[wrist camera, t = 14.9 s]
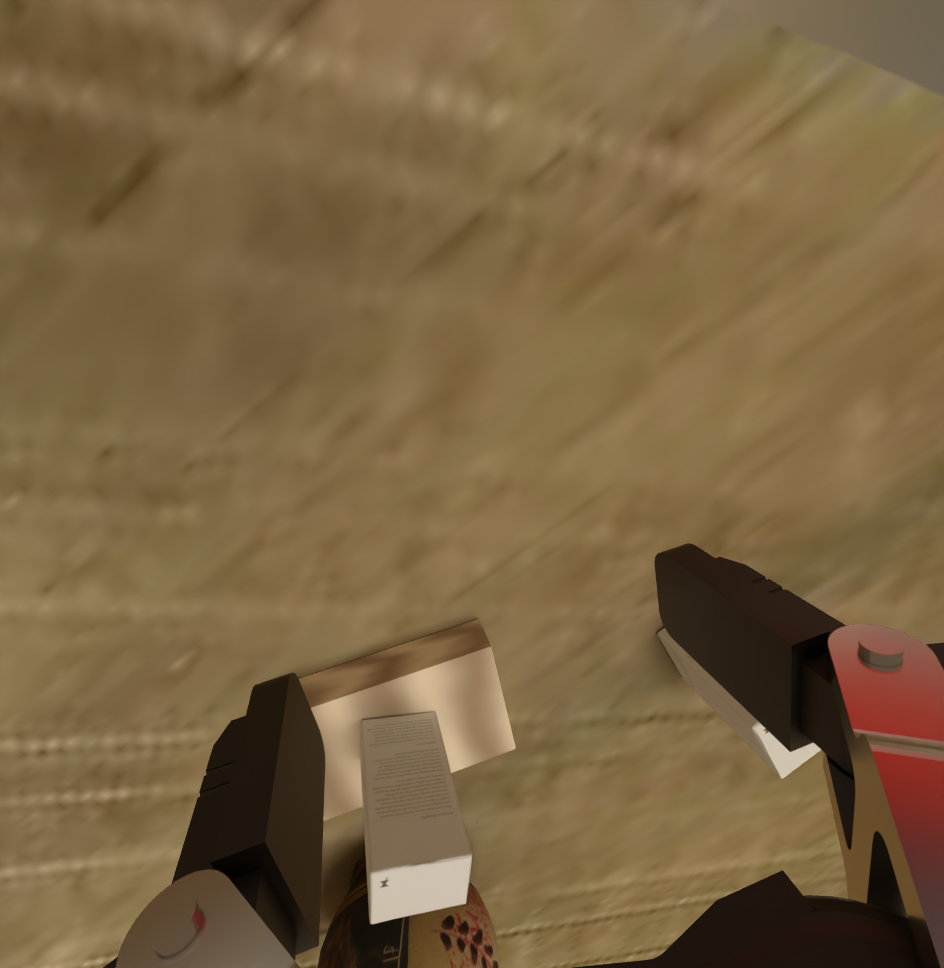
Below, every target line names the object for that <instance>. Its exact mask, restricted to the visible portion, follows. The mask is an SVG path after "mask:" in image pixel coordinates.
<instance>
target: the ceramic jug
mask: <svg viewBox="0 0 944 968" xmlns="http://www.w3.org/2000/svg"><path fill="white" fill-rule="evenodd" d="M478 824H479V823H478ZM318 968H501V967H500V957H499V951H498V945H497V940H496V935H495V931H494V927H493V924H492V921H491V918H490V916H489V913H488V911H487V909H486V907H485V905H484V903H483V900H482V898H481V897H480V895H479V893H478V892H477V890H476V888H475V887H474V886H473V885H472V884H471V883H470V882H469V885H468V893H467V901H466V904H462V905H457V906H452V907H448V908H443V909H439V910H434V911H429V912H425V913H420V914H415V915H410V916H406V917H401V918H396V919H392V920H388V921H384V922H380V923H376V924H370V920H369V905H368V887H367V870H366V857H364V858H363V859H361V860H360V861H359V862H358V863H357V864H356V868H355V870H354V872H353V876H352V880H351V888H350V890H349V892H348V893H347V895H346V897H345V899H344V901H343V902H342V904H341V906H340V907H339V909H338V911H337V912H336V914H335V916H334V918H333V920H332V923H331V925H330V927H329V929H328V932H327V935H326V938H325V940H324V943H323V946H322V949H321V951H320V957H319V963H318Z"/></svg>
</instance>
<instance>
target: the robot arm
mask: <svg viewBox="0 0 944 968" xmlns="http://www.w3.org/2000/svg"><path fill="white" fill-rule="evenodd" d="M655 572H656V582H657V593H658V603H659V612H660V617H661V620H662V622H663V625H664V627H665V629H666V631H667V632H668V634H669V635H670V636H671V638H672V639H673V640H674V641H675V642H676V643H677V644H678V645H679V646H680V647H681V648H682V649H683V650H685V651H686V652H687V653H688V654H689V655H690V656H691V657H692V658H693V659H694V660H695V661H696V662H697V663H698V664H699V665H700V666H701V667H702V668H703V669H704V670H705V671H706V672H707V673H708V674H709V675H710V676H712V677H713V678H714V679H715V680H716V681H717V682H718V683H719V684H720V685H721V686H722V687H723V688H724V689H725V690H726V691H727V692H728V693H729V694H730V695H731V696H732V697H733V698H734V699H735V700H736V701H738V702H739V703H740V704H741V705H742V706H743V707H744V708H745V709H746V710H747V711H748V712H749V713H750V714H751V715H752V716H753V717H754V718H755V719H756V720H757V721H758V722H759V723H760V724H761V725H762V726H763V727H765V728H766V729H767V730H768V731H769V732H770V733H771V734H772V735H773V736H774V737H775V738H776V739H777V740H778V741H779V742H780V743H781V744H782V745H783V746H784V747H785V748H786V749H787V750H788V751H789V752H792V751H795V750H797V749H799V748H802V747H804V746H807V745H809V744H811V743H814V744H816V745H817V746H818V747H819V748H820V749H821V750H822V751H823V768H824V772H825V777H826V782H827V786H828V791H829V796H830V800H831V805H832V809H833V814H834V819H835V823H836V828H837V833H838V837H839V842H840V846H841V851H842V856H843V860H844V866H845V872H846V879H847V891H848V899H845V898H839V897H833V896H812V895H806V896H803V895H802V894H801V893H800V891H799V890H798V889H797V888H796V886H795V885H794V884H793V883H792V881H791V880H790V879H789V878H788V876H787V875H786V874H785V873H784V871H783V870H782V871H780V872H778V873H776V874H774V875H771V876H769V877H767V878H765V879H763V880H760V881H758V882H756V883H754V884H752V885H750V886H747V887H745V888H743V889H741V890H739V891H736V892H734V893H732V894H730V895H728V896H725V897H723V898H721V899H719V900H717V901H716V902H715V903H714V904H713V905H712V906H710V907H709V908H708V909H707V910H706V911H705V912H704V913H703V914H702V915H701V916H700V917H699V918H698V919H697V920H696V921H695V922H694V923H693V924H692V925H691V926H690V927H689V928H688V929H687V930H686V931H685V932H684V933H683V934H682V935H681V936H680V937H679V938H678V939H677V940H676V941H675V942H674V943H673V944H672V945H671V946H670V947H669V948H668V949H667V950H666V951H665V952H664V953H663V954H661V955H660V956H658V957H656V958H654V959H650V960H642V961H632V962H623V963H613V964H603V965H593V966H583V967H574V968H944V643H935V644H924V643H923V642H922V641H920V640H919V639H917V638H915V637H913V636H911V635H909V634H907V633H905V632H902V631H899V630H897V629H893V628H889V627H885V626H880V625H872V624H853V625H848V626H846V625H844V624H843V623H841V622H839V621H838V620H836V619H834V618H833V617H831V616H829V615H828V614H826V613H824V612H823V611H821V610H819V609H818V608H816V607H815V606H813V605H811V604H810V603H808V602H806V601H805V600H803V599H801V598H800V597H798V596H796V595H795V594H793V593H791V592H790V591H788V590H786V589H785V590H783V589H782V587H781V586H780V585H778V584H776V583H775V582H773V581H772V580H770V579H768V580H766V578H765V576H763V575H762V574H760V573H758V572H757V571H755V570H753V569H752V568H750V567H748V566H747V565H745V564H742V563H738V562H735V561H732V560H728V559H725V558H722V557H718V558H714V557H712V556H711V555H709V554H708V553H706V552H705V551H703V550H701V549H700V548H698V547H697V546H695V545H693V544H685V545H682V546H679V547H676V548H673V549H670V550H667V551H664V552H661V553H658V554H657V555H656V557H655ZM324 790H325V750H324V744H323V739H322V736H321V732H320V729H319V727H318V724H317V722H316V720H315V717H314V715H313V712H312V710H311V708H310V705H309V703H308V700H307V698H306V695H305V693H304V691H303V688H302V686H301V683H300V681H299V679H298V677H297V676H296V674H295V673H290V674H287V675H284V676H281V677H278V678H275V679H272V680H269V681H266V682H263V683H260V684H257V685H255V686H254V687H253V689H252V693H251V697H250V701H249V705H248V709H247V713H246V716H244V717H241V718H238V719H235V720H232V721H231V722H230V723H229V725H228V726H227V727H226V729H225V730H224V732H223V733H222V734H221V736H220V737H219V739H218V740H217V741H216V743H215V744H214V746H213V749H212V752H211V756H210V759H209V762H208V765H207V769H206V776H204V779H203V782H202V785H201V789H200V797H198V799H197V802H196V805H195V808H194V812H193V815H192V818H191V822H190V825H189V828H188V832H187V835H186V838H185V841H184V845H183V848H182V851H181V855H180V858H179V861H178V865H177V868H176V871H175V874H174V878H173V881H172V884H171V885H170V886H168V887H167V888H165V889H164V890H163V891H162V892H161V893H160V894H158V895H157V896H156V897H155V898H154V899H153V900H152V901H151V902H150V903H149V904H148V905H147V906H146V908H145V909H144V910H143V911H142V912H141V914H140V915H139V916H138V918H137V919H136V920H135V922H134V923H133V925H132V926H131V928H130V930H129V931H128V933H127V935H126V937H125V939H124V941H123V943H122V946H121V948H120V951H119V955H118V957H117V958H115V959H114V960H113V961H111V962H110V963H109V964H107V965H106V966H105V967H103V968H300V967H299V965H298V964H297V963H296V962H295V955H297V954H300V953H302V952H305V951H307V950H309V949H312V948H314V947H317V946H319V923H320V896H321V870H322V843H323V817H324Z"/></svg>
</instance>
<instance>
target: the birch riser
mask: <svg viewBox="0 0 944 968" xmlns="http://www.w3.org/2000/svg"><path fill="white" fill-rule="evenodd" d="M299 681H300V683H301V686H302V688H303V691H304V693H305V695H306V698H307V700H308V703H309V705H310V708H311V710H312V712H313V715H314V717H315V720H316V722H317V724H318V727H319V729H320V732H321V736H322V739H323V744H324V750H325V790H324V817H323V821H326V820H328V819H331V818H334V817H336V816H339V815H341V814H344V813H347V812H349V811H352V810H355V809H357V808H360V807H363V802H362V785H361V766H360V744H361V722H362V720H369V719H378V718H387V717H396V716H404V715H414V714H422V713H430V712H435V713H436V715H437V718H438V722H439V726H440V730H441V734H442V738H443V742H444V746H445V750H446V754H447V758H448V762H449V766H450V770H451V773H453V772H455V771H458V770H461V769H463V768H466V767H469V766H471V765H474V764H476V763H479V762H482V761H484V760H487V759H490V758H492V757H495V756H498V755H500V754H503V753H506V752H508V751H511V750H514V749H516V748H515V744H514V739H513V735H512V731H511V727H510V723H509V719H508V714H507V710H506V706H505V702H504V698H503V694H502V690H501V685H500V681H499V677H498V673H497V669H496V665H495V661H494V656H493V652H492V648H491V645H490V643H489V641H488V639H487V636H486V634H485V632H484V630H483V628H482V625H481V623H480V621H479V619H477V620H474V621H471V622H468V623H465V624H462V625H459V626H456V627H453V628H450V629H447V630H444V631H441V632H438V633H435V634H432V635H429V636H426V637H423V638H420V639H417V640H414V641H410V642H407V643H404V644H401V645H398V646H395V647H392V648H389V649H386V650H383V651H380V652H377V653H374V654H371V655H368V656H365V657H362V658H359V659H356V660H353V661H350V662H347V663H344V664H341V665H338V666H335V667H332V668H329V669H326V670H323V671H320V672H317V673H314V674H311V675H308V676H305V677H302V678H299Z"/></svg>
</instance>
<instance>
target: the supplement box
mask: <svg viewBox="0 0 944 968" xmlns="http://www.w3.org/2000/svg"><path fill="white" fill-rule="evenodd" d="M657 635H658V636H659V638H660V640H661V642H662V643H663V645H664V647H665V648H666V650H667V652H668V654H669V655H670V657H671V659H672V661H673V662H674V664H675V666H676V668H677V669H678V671H679V673H680V675H681V676H682V678H683V679H684V680H685V681H686V682H687V683H688V684H689V685H690V686H691V687H692V688H693V689H694V690H695V691H696V692H697V693H698V694H699V695H700V696H701V697H702V698H703V699H704V700H705V701H706V703H707V704H708V705H709V706H710V707H711V708H712V709H713V710H714V711H715V712H716V713H717V714H718V715H719V716H720V717H721V718H722V719H723V720H724V721H725V722H726V723H727V724H728V725H729V726H730V727H731V728H732V729H733V730H734V731H735V732H736V733H737V734H738V735H739V736H740V737H741V738H742V739H743V741H744V742H745V743H746V744H747V745H748V746H749V747H750V748H751V749H752V750H753V751H754V752H755V753H756V754H757V755H758V756H759V757H760V758H761V759H762V760H763V761H764V762H765V763H766V764H767V765H768V766H769V767H770V768H771V769H772V770H773V771H774V772H775V773H776V774H777V775H778V776H779V777H780V778H781V779H782V778H784V777H786V776H787V775H788V774H789V773H791V772H792V771H793V770H795V769H796V768H797V767H799V766H800V765H801V764H803V763H804V762H805V761H807V760H808V759H809V758H811V757H812V756H813V755H815V754H816V753H817V752H819V751H820V750H821V749H820V748H819V747H818V746H817V745H816V744H814V743H811V744H809V745H807V746H804V747H802V748H799V749H797V750H795V751H792V752H789V751H788V750H787V749H786V748H785V747H784V746H783V745H782V744H781V743H780V742H779V741H778V740H777V739H776V738H775V737H774V736H773V735H772V734H771V733H770V732H769V731H768V730H767V729H766V728H765V727H763V726H762V725H761V724H760V723H759V722H758V721H757V720H756V719H755V718H754V717H753V716H752V715H751V714H750V713H749V712H748V711H747V710H746V709H745V708H744V707H743V706H742V705H741V704H740V703H739V702H738V701H736V700H735V699H734V698H733V697H732V696H731V695H730V694H729V693H728V692H727V691H726V690H725V689H724V688H723V687H722V686H721V685H720V684H719V683H718V682H717V681H716V680H715V679H714V678H713V677H712V676H710V675H709V674H708V673H707V672H706V671H705V670H704V669H703V668H702V667H701V666H700V665H699V664H698V663H697V662H696V661H695V660H694V659H693V658H692V657H691V656H690V655H689V654H688V653H687V652H686V651H685V650H683V649H682V648H681V647H680V646H679V645H678V644H677V643H676V642H675V641H674V640H673V639H672V638H671V636H670V635H669V634H668V632H667V631H666V629H665V628H664V629H662V630H661V631H659V632H658V633H657Z"/></svg>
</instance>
